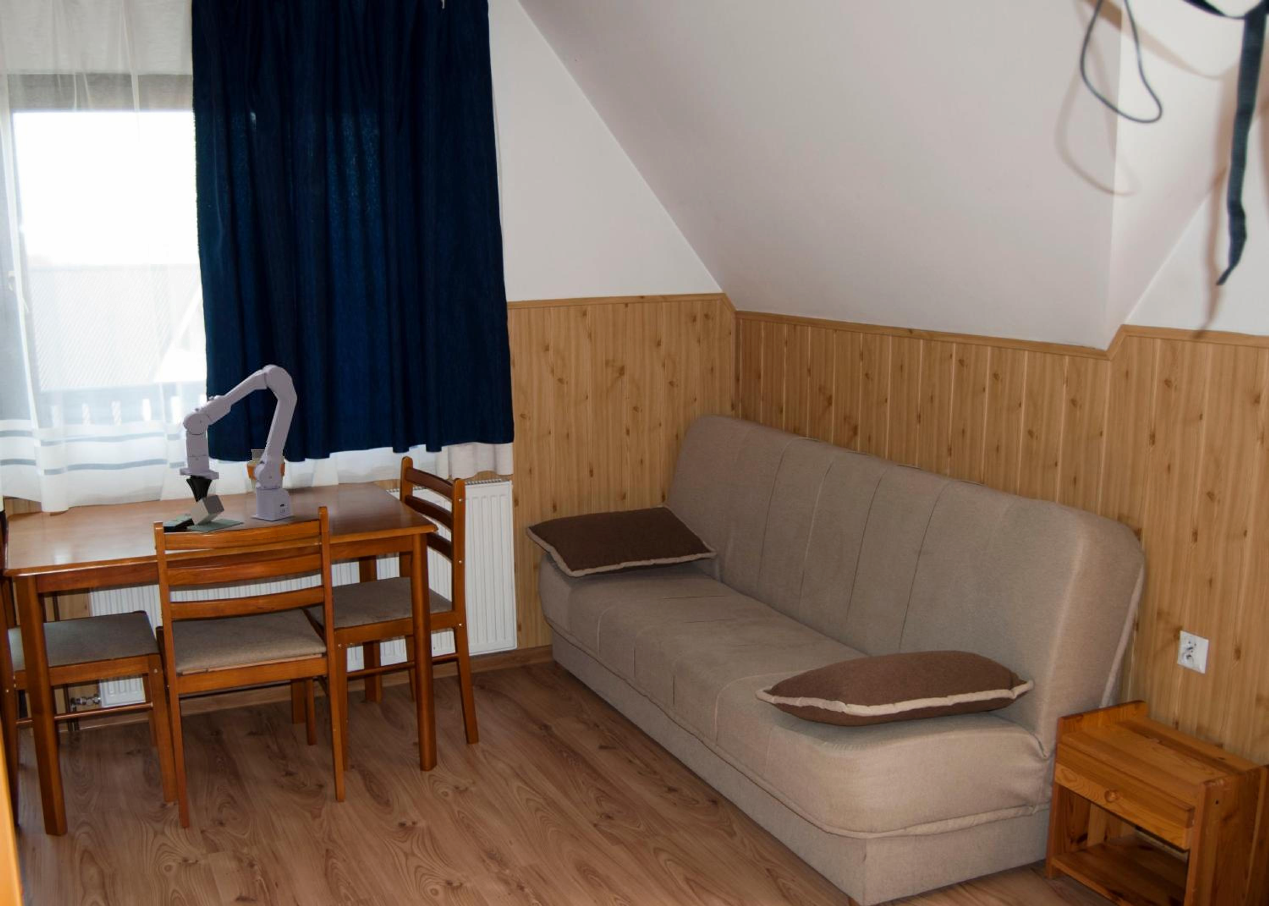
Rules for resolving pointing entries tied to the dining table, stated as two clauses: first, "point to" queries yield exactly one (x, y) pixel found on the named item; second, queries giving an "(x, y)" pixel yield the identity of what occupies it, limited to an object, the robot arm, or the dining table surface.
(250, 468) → the reusable coffee cup
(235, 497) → the dining table surface
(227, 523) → the dice mat
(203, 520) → the gray block
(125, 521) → the dining table surface
